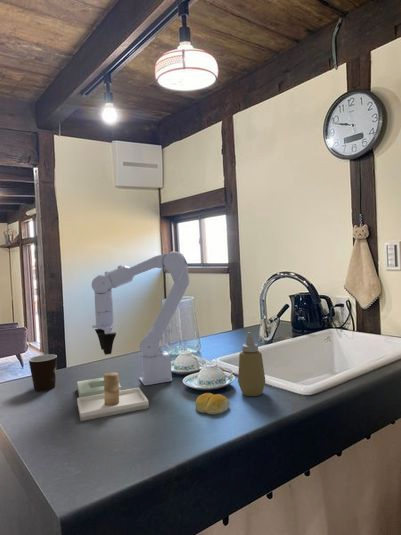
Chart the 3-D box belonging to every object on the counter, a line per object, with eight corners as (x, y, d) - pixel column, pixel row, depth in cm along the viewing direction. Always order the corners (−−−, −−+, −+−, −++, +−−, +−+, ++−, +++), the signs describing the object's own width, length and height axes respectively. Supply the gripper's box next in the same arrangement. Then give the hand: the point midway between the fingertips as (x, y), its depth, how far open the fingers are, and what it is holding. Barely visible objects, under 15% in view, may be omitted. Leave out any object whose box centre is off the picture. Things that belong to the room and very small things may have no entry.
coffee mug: (49, 393, 122) (47, 361, 122) (24, 392, 124) (22, 361, 124) (68, 380, 134) (67, 352, 133) (46, 380, 135) (44, 352, 135)
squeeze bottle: (271, 392, 114) (269, 331, 113) (255, 400, 108) (252, 336, 108) (249, 386, 120) (246, 328, 119) (232, 394, 114) (230, 333, 113)
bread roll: (205, 401, 110) (204, 387, 110) (233, 406, 106) (232, 392, 105) (188, 411, 103) (188, 396, 103) (218, 418, 99) (217, 402, 98)
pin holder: (115, 383, 129) (114, 375, 129) (121, 394, 118) (121, 386, 118) (77, 389, 125) (77, 381, 125) (80, 401, 114) (80, 393, 113)
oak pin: (118, 399, 111) (117, 371, 111) (120, 404, 108) (119, 375, 107) (103, 401, 110) (103, 373, 110) (105, 406, 106) (104, 377, 106)
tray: (139, 393, 118) (139, 387, 118) (148, 407, 107) (148, 400, 107) (77, 404, 111) (77, 398, 111) (80, 421, 100) (80, 413, 100)
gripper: (89, 309, 135) (91, 348, 135) (94, 315, 121) (96, 358, 122) (110, 307, 137) (112, 345, 138) (116, 313, 124) (119, 355, 124)
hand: (106, 351), depth 130 cm, fingers open, 7 cm apart
